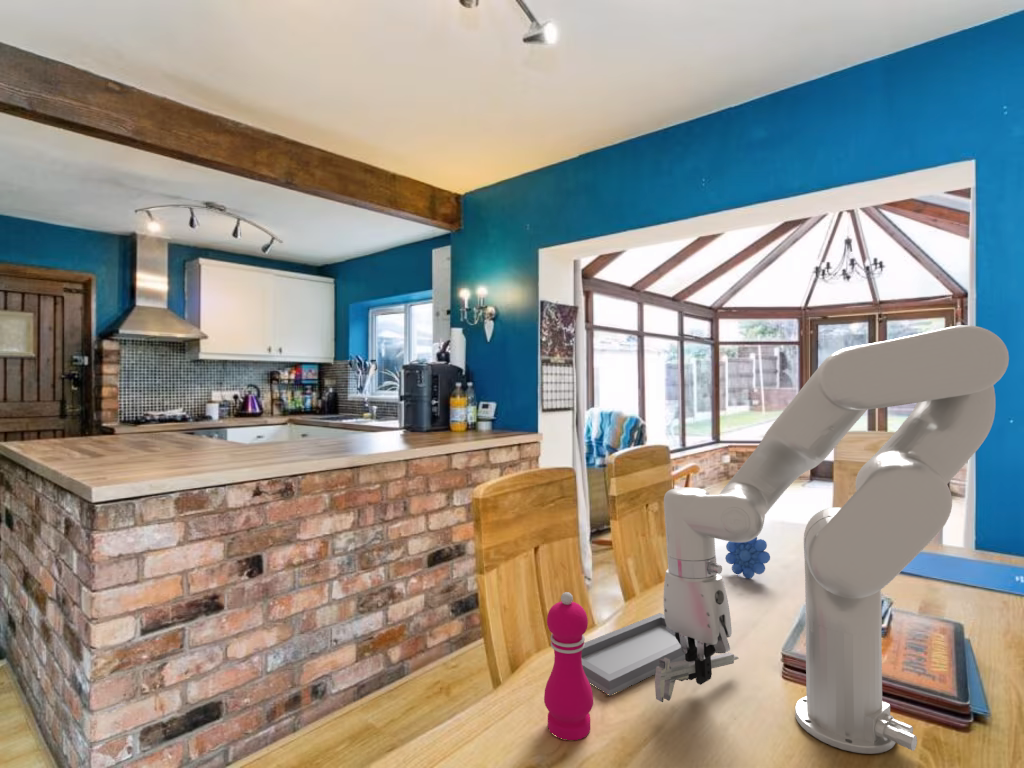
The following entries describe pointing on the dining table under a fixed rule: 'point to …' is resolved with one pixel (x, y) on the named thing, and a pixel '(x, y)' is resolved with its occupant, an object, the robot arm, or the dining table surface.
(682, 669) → the caliper
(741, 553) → the blue bumpy cluster
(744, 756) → the dining table surface
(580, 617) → the pepper mill
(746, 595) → the dining table surface
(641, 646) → the tool case
